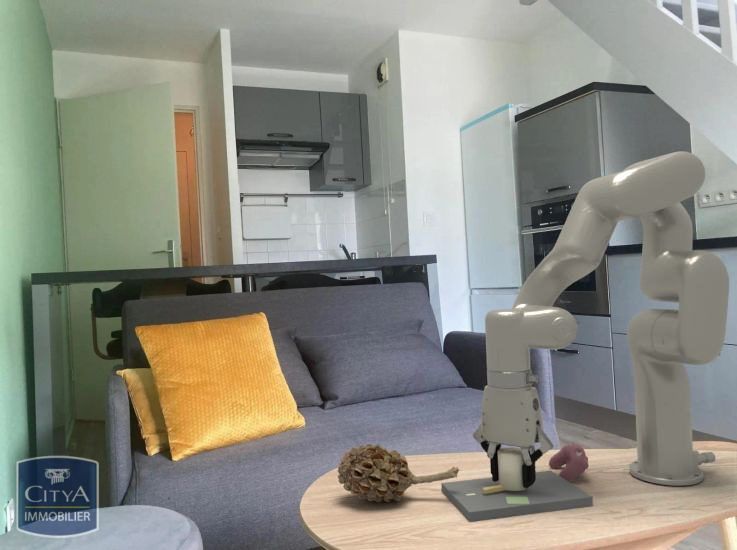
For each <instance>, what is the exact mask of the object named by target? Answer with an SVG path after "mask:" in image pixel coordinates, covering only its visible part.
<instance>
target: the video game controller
mask: <svg viewBox="0 0 737 550" xmlns="http://www.w3.org/2000/svg"><path fill="white" fill-rule="evenodd" d="M548 465H549V468H551V469H558V468H562V467H563V466H564V468H562V469H561V471H560V472H559V473H558V475H559V476H560V477H562V478H564V479H565V480H567V481H568V482H570V483H572V482H573V481H574V480H576V479H577V478H578V477H579V476H580V475H581V474H583V473H584V472H585V471H586V470H588V468H589V457H588V456H587V455H586V451H585V449H584V448H583V447H582V446H581V445H579V444H576V443H570V442H567V444H565V445H564V446H562V448H561V449H560V450H559V451H558V452H557V453H555V454H553V456H551V457H550V459H549V460H548Z"/></svg>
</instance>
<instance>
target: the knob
mask: <svg viewBox="0 0 737 550" xmlns="http://www.w3.org/2000/svg"><path fill="white" fill-rule="evenodd" d="M523 464H525V461H524V458H523V454H522V451H521V448H520V447H513V446H509V447H501V449H499V450H498V474H499V485H496V486H490V487H485V488H482V492H483V493H484V494H488V493H493V492H499V491H504V490H510V491H521V490H525V489H527V488H524V487H523V478H522V465H523Z"/></svg>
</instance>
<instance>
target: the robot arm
mask: <svg viewBox="0 0 737 550" xmlns="http://www.w3.org/2000/svg"><path fill="white" fill-rule="evenodd" d="M704 165H705V164H703V161H702V160H701V159H700V158H699V157H698V156H697V155H695V153H691V152H689V151H675V152H671V153H670V152H669V153H666V154H664V155H663V154H662V155H659V156H656V157H653V158H648V159H644V160H641V161H638V162H636V163H633V164H631V165H629V166H627V167H626V168H624V169H623V170H622V171H618V172H615V173H611V174H606V175H605V176H604V175H603V176H600V177H596V178H593V179H591V180H589V181H587V182H586V183H585V184H584V185H582V187H581V188H580V190H579V191H578V194H577V196H576V197H575V200H574V202H573V203H572V204H573V205H572V206H571V209H570V210H569V213H568V215H567V217H566V220H565V223H564V225H563V227H562V229H561V231H560V233H559V236H558V238H557V240H556V242H555V244H554V247H553V248H552V250H551V251H549V253H548V254H547V255H546V256H544V258H543V259H542V260H541V262H539V264H538V265H537V266H536V267H535V268H534V270H533V271H532V272H531V273H530V274H529V275H528V276H527V278H526V280H525V281H524V283H523V284H522V286H521V288H520V290H519V292H518V294H517V297H516V299H515V301H514V303H513V306H512V307H511V308H504V309H503V308H502V309H501V308H500V309H499V308H498V309H492V310H490V311H488V312H486V314H485V318H484V326H485V349H486V350H485V351H486V376H487V378H486V379H487V385H485V386H484V389H483V394H482V401H481V412H480V413H481V415H480V418H481V419H480V420H481V421H480V425H479V426H478V427H477V428H476V429H475V431H474V433H473V434H472V437H473V439H474V440H475V441H476V442H477V443H478V444H479V445H480V446H481V448H482V450H483V451H484V452H485V453H486V456H487V457H488V459H490V461H489V462H490V464H489V465H490V466H489V467H490V474H491V476H492V480H493V481H494V482H496V481H498V480H499V474H498V450H499V449H502V447H503V446H504V445H505V446H509V447H514V448H520V449H521V451H522V454H523V458H524V461H525V464H523V465H522V478H523V487H524V488H528V487H530V486H531V485H533V484H534V482H535V480H536V472H537V471H536V462H537V461H538V460H540V458H542V457H543V456H544V455H545V454H546V453H548V452H549V451H550V450H552V449H553V448H554V444H553V442H552V441H551V440H550V439H549V437H548V436H547V434H546V433H545V431H544V423H543V413H542V409H541V408H542V407H541V402H540V399H539V393H538V390H537V387H536V386H532V385H533V384H538V382H539V375H537V374H534V373H533V372H532V371H533V370H532V369H531V349H540V350H553V351H554V350H561V349H564V348H566V347H568V346H570V345H571V344H572V343H573V342H574V341H575V339H576V337H577V335H578V330H579V328H578V326H579V325H578V322H577V320H576V319H575V316H573V314H572V313H570V312H569V311H568V310H566V309H564V308H561V307H557V306H554V305H555V302H556V300H557V299H558V298H559V296H560V295H561V294H562V293H563V292H564V291H565V290H566V289H567V288H568V287H569V286H571V285H572V284H573V283H575V282H577V281H578V280H581V279H583V278H584V277H586V276H588V275H589V274H590V273H592V272H593V271H595V270H596V269H597V268H598V267H599V266H600V264H601V262H602V260H603V256H604V255H605V252H606V250H607V248H608V246H609V244H610V241H611V238H612V236H613V234H614V232H615V231H616V230H615V229H616V227H617V226H618V223H619V222H620V221H626V220H632V219H633V220H634V219H637V218H639V219H640V222H641V224H642V232H643V233H642V235H643V236H642V249H641V251H642V252H641V260H640V262H641V263H640V272H639V273H640V275H639V287H640V290H641V292H642V294H643V295H644V296H645V297H646V298H647V299H648V300H649V299H650V300H652V301H656V302H662V303H677V304H678V309H669V308H668V309H667V308H650V309H648V308H647V309H644V310H642V311H640V312H638V313H636V314H635V315H633V317H632V318H631V319H630V321H629V323H628V325H627V329H626V341H627V345H628V350H629V353H630V357H631V363H632V367H633V368H632V369H633V378H634V401H635V402H634V403H635V404H634V406H635V407H634V408H635V429H636V431H635V432H636V452H637V456H636V457H637V460H634V461H632V462H631V463H629V465H628V466H629V467H628V470H629V473H630V474H631V475H632V476H634V477H635V478H637V479H639V480H641V481H645V482H648V483H650V484H651V483H652V484H658V485H663V486H664V485H665V486H673V487H675V486H676V487H677V486H678V487H679V486H683V487H685V486H693V485H696V484H699V483H701V482H702V481H703V480H704V472H703V470H702V469H701V468H699V467H700V466H701V465H702V464H703V463H704V464H708V463H715V462H716V458H717V457H716V455H715V453H714V452H712V451H707V452H701V453H699V450H694V448H693V446H694V445H693V426H692V425H693V420H692V401H691V400H692V399H691V398H692V397H691V383H690V378H689V375H688V372H687V369H686V367H685V365H691V366H692V365H693V366H704V365H708V364H711V363H712V362H714V361H715V360H717V358H718V357H719V356H720V354H721V352H722V350H723V347H724V344H725V343H724V342H725V339H726V331H727V329H726V328H727V322H728V321H727V318H728V308H729V307H728V306H729V297H730V295H729V294H730V277H729V272H728V270H727V266H726V265H725V262H724V261H723V260H722V259H721V258H720V257H719V256H718V255H716V254H715V253H714V252H710V251H708V250H701V249H697V250H693V240H694V239H693V236H694V234H693V233H694V232H693V231H694V230H693V228H694V227H693V222H692V219H691V216H690V215H689V213H688V211H687V210H686V207H684V206H683V205H682V203H681V202H682V201H685V200H688V199H690V198H692V197H693V196H695V195H696V194H697V193H698V192H699V191H700V190H701V189H702V186H703V185H704V182H705V178H706V168H705V166H704ZM536 443H537V444H538V443H539V444H540V447H538V448H537V449H536V447H535V444H536Z"/></svg>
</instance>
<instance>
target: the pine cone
mask: <svg viewBox="0 0 737 550" xmlns="http://www.w3.org/2000/svg"><path fill="white" fill-rule="evenodd" d="M340 461H341V462H339V464H338V467H337V469H338V470H337V472H338V475H337V478H338V483H339V484H341V485H343V486H342V487H343V489H344V490H345V491H347V492H350V494H352V495H357V498H359V499H360V500H364V499H367V500H368V501H369V502H371V501H374V500H375V502H377V503H379V502H381V501H382V500H384V501H385V502H387V503H388V502H390V501H391V500H393V501H396V502H400V501H401V499H402V496H403V495H404V493H405V492H406V490H407V489H409V488H410V487H412V486H413V485H415V486H416V485H418V484H425V483H427V484H429V483H433V482H439V481H440V482H441V481H445V480H449V479H454V478H456V479H457V478H458V474H459V471H461V472H462V469H459V467H454V466H453V467H451V469H448V470H447V471H443V472H438V473H434V474H428V475H418V476H417V475H415V474H413V472H412V471H411V470H410V468H409V463H408V461H407V457H406V456H405V455H401V453H399V452H398V451H397V450H396V449H393V450H391V451H389V449H388V448H387V447H384V448H383V447H382V446H381V445H380V444H379V443H377V444H375V445H372V444H367V445H366V446H364V445H358V446H357V447H356V446H352V447H351V448H350V449H348V451H345V452H344V455H343V456H341V458H340Z"/></svg>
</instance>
